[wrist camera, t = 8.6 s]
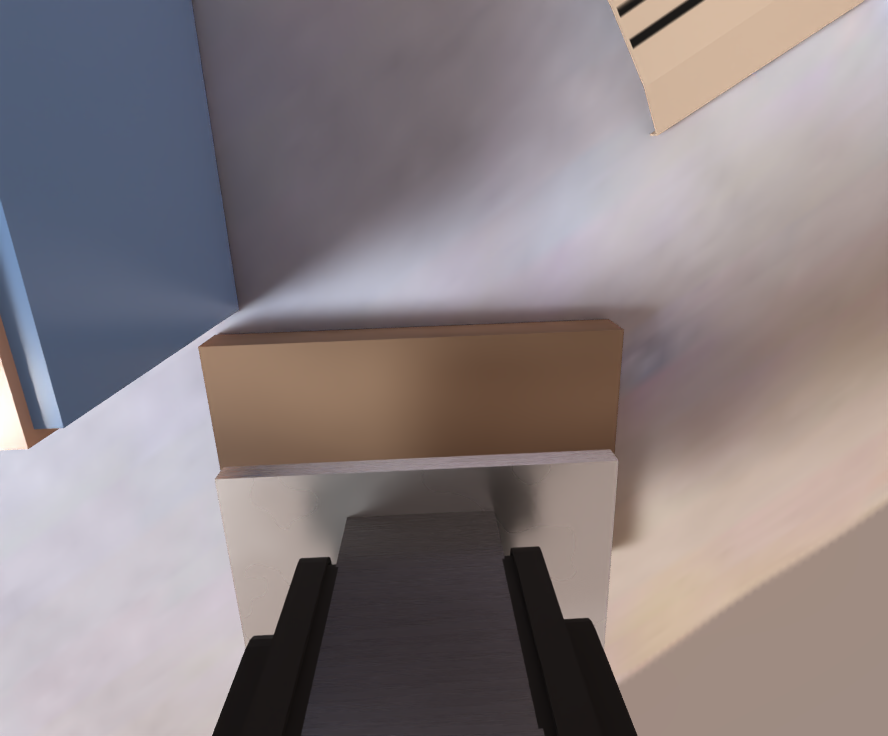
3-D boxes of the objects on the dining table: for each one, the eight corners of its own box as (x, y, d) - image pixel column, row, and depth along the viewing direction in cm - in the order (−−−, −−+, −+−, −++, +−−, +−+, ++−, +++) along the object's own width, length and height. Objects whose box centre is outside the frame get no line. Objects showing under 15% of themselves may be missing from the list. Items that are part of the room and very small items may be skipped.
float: (223, 466, 11) (-130, 959, 4) (610, 449, 11) (927, 887, 4) (257, 657, 13) (45, 1257, 6) (596, 639, 13) (810, 1192, 6)
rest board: (214, 334, 15) (198, 347, 14) (608, 319, 15) (624, 329, 14) (255, 574, 18) (244, 601, 16) (592, 556, 18) (604, 581, 17)
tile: (119, -26, 12) (-359, -364, 5) (190, -27, 12) (-174, -366, 5) (183, 317, 15) (-63, 452, 7) (242, 315, 15) (57, 447, 7)
